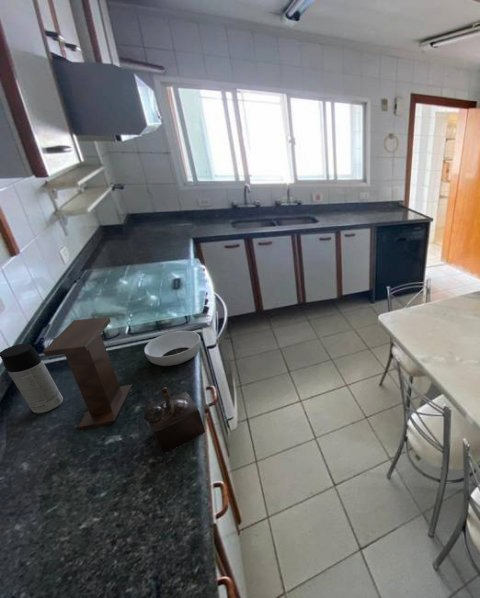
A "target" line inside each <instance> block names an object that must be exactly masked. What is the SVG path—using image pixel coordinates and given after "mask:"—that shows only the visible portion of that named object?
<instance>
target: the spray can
mask: <svg viewBox="0 0 480 598" xmlns="http://www.w3.org/2000/svg"><path fill="white" fill-rule="evenodd" d="M0 359H1V361H2V363H3V367H4V368H5V371H7V374H8V375H9V377H10V378H11V380H12V382H13V383H14V384H15V387H17V389H18V391H19V392H20V394H21V395H22V398H23V399H24V401H25V402H26V404H27V405H28V407H29V408H30V410H31V412H33V413H34V414H44V413H47V412H50V411H52V410H55V409H56V408H58V407H59V406H61V405H62V404H63V401H64V397H63V395H62V394H61V392H60V389H59V388H58V386H57V385H56V382H55V381H54V379H53V376H52V375H51V374H50V372H49V370H48V367H47V366H46V365H45V363H44V361H43V359H42V357H41V356H40V354H39V352H37V351H36V349H35V347H34V346H32V345H31V344H30V343H28V342H27V343H26V342H25V343H19V344H15V345H11V346H9V347H7V348H4V349H3V350H2V351H0Z"/></svg>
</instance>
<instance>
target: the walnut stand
mask: <svg viewBox="0 0 480 598" xmlns="http://www.w3.org/2000/svg"><path fill="white" fill-rule="evenodd" d="M110 323H111V319H110V316H107V317H106V316H105V317H95V318H85V319H73V320H72V321H71V322H70V323H69V324H68V325H67V326H66V327H65V328H64V329H63V330H62V331H61V332H60V333H59V335H57V336H56V337H55V338H54V339H53V340H52V341H51V342H50V343H49V345H48V346H47V347H45V348H44V349H43V350H42V353H43V355H44V357H52V356H61V355H64V356H65V358H66V361H67V363H68V366H69V368H70V371H71V372H72V375H73V377H74V380H75V383H76V384H77V386H78V389H79V392H80V394H81V397H82V398H83V401H84V403H85V406H86V408H87V411H86V412H85V414H84V415H83V417H82V419H81V420H80V422H79V423H78V426H77V429H78V431H83V430H88V429H93V428H98V427H102V426H106V425H112V424H115V423H116V422H117V419H118V417H119V415H120V413H121V411H122V409H123V406H124V405H125V403H126V401H127V398H128V396H129V394H130V392H131V390H132V388H133V384H127V385H121V386H120V383H119V382H118V379H117V375H116V373H115V370H114V367H113V364H112V362H111V359H110V356H109V353H108V351H107V348H106V345H105V343H104V340H103V337H102V333H104V331H105V330H106V329H107V327H108V326H109V325H110Z"/></svg>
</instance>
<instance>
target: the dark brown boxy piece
mask: <svg viewBox="0 0 480 598" xmlns="http://www.w3.org/2000/svg"><path fill="white" fill-rule="evenodd" d="M161 392H162V394H161V395H162V397H163V398H164V400H162V401H160V402H157V403H155V404H153V405H150V406H148V407H146V408H143V409H144V410H143V412H144V416H143V420H144V421H145V422H147V423H148V425H149V427H150V430H151V431H152V432H151V433H152V435H153V437H154V441H153V445H154V447H157V446H158V447H159V450H160V451H161V453H162V454H163V455H165V454H167V453H170V452H171V450H172V451H174V450H175V448H176V447H178V448H180V447H182V446H183V445H185V444H187V443H189V442H191V441H193V440H195V439H196V438H198V437H200V436H202V435H203V434H205V433H206V430H205V426H204V422H203V419H202V416H201V413H200V410H199V408H198V406H197V405H196V403H195V401H194V400H193V398H192V397H191V396H190V395H189V393H188V392H187V391H183V392H181V393H178V394H176V395H174V396H171V395H170V392H169V389H168V388H167V387H166V386H165V387H164V386H163V387H162V388H161ZM186 442H187V443H186ZM184 443H185V444H184ZM179 446H180V447H179ZM173 449H174V450H173ZM176 449H177V448H176ZM166 452H167V453H166ZM164 453H165V454H164Z"/></svg>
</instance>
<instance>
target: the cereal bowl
mask: <svg viewBox="0 0 480 598" xmlns="http://www.w3.org/2000/svg"><path fill="white" fill-rule="evenodd" d="M201 347H202V339H201V336H200V334H199V333H198V332H196V331H193V330H177V331H172V332H171V331H170V332H167V333H163V334H161V335H159V336H157V337H155V338H153V339H152V340H150V341H149V342H148V343H146V345H145V346H144V349H143V351H144V354H145V357H146V358H147V360H148V361H149V362H150V363H152V364H153V365H155V366H162V367H171V366H176V365H180V364H183V363H186V362H188V361H190V360H191V359H192V358H194V357H195V356H196V355H198V353H199V351H200V350H201ZM181 348H182V349H183V348H187V349H186V350H184V351H181V352H179V353H175V354H171V355H166V354H167V353H168V352H171V351H173V350H176V349H181ZM164 355H165V356H164Z"/></svg>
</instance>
